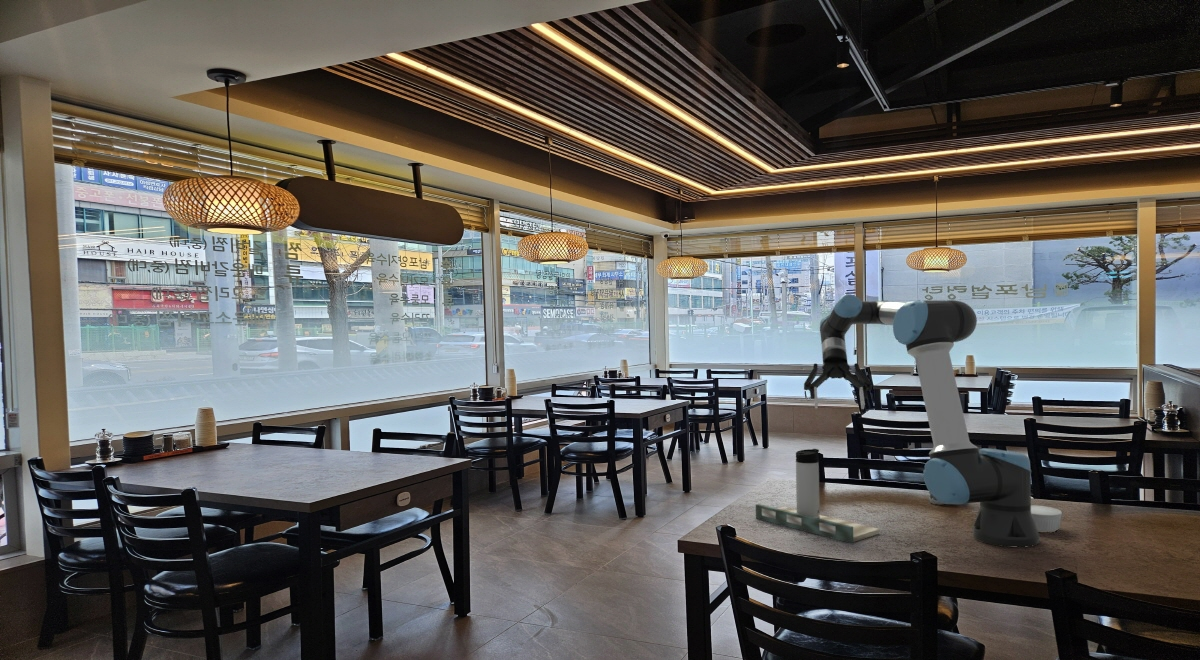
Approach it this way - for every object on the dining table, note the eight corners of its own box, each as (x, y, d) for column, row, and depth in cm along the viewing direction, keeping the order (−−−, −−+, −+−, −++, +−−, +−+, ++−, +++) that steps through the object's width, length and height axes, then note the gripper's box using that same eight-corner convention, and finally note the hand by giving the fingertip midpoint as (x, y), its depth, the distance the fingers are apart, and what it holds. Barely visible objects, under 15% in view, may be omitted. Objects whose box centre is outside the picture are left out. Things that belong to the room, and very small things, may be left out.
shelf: (879, 533, 199) (879, 518, 199) (850, 542, 191) (850, 527, 191) (784, 510, 224) (784, 497, 224) (755, 518, 216) (755, 504, 216)
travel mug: (825, 521, 207) (823, 450, 207) (804, 523, 205) (803, 452, 205) (812, 516, 213) (811, 447, 213) (792, 518, 211) (791, 448, 211)
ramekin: (1015, 521, 208) (1015, 502, 208) (1061, 526, 203) (1061, 507, 203) (1014, 531, 199) (1014, 511, 199) (1063, 536, 193) (1062, 516, 193)
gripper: (874, 362, 238) (881, 414, 224) (794, 362, 244) (797, 413, 229) (876, 346, 233) (884, 398, 218) (794, 347, 239) (797, 398, 224)
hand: (839, 406), depth 224 cm, fingers open, 13 cm apart
